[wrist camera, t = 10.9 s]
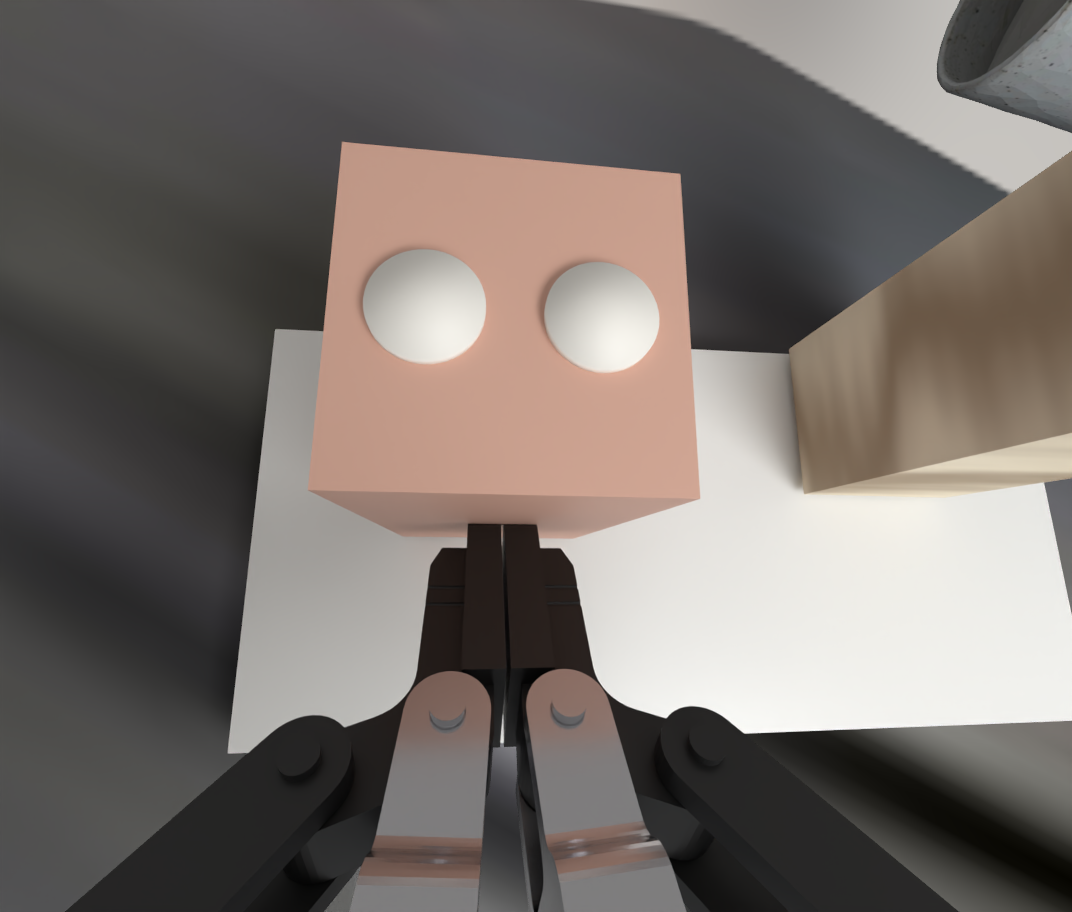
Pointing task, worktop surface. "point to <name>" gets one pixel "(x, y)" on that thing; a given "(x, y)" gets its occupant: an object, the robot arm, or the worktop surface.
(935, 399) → the key one
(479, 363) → the key two
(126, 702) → the worktop surface
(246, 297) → the worktop surface
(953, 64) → the ceramic mug
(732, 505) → the keypad board
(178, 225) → the worktop surface
